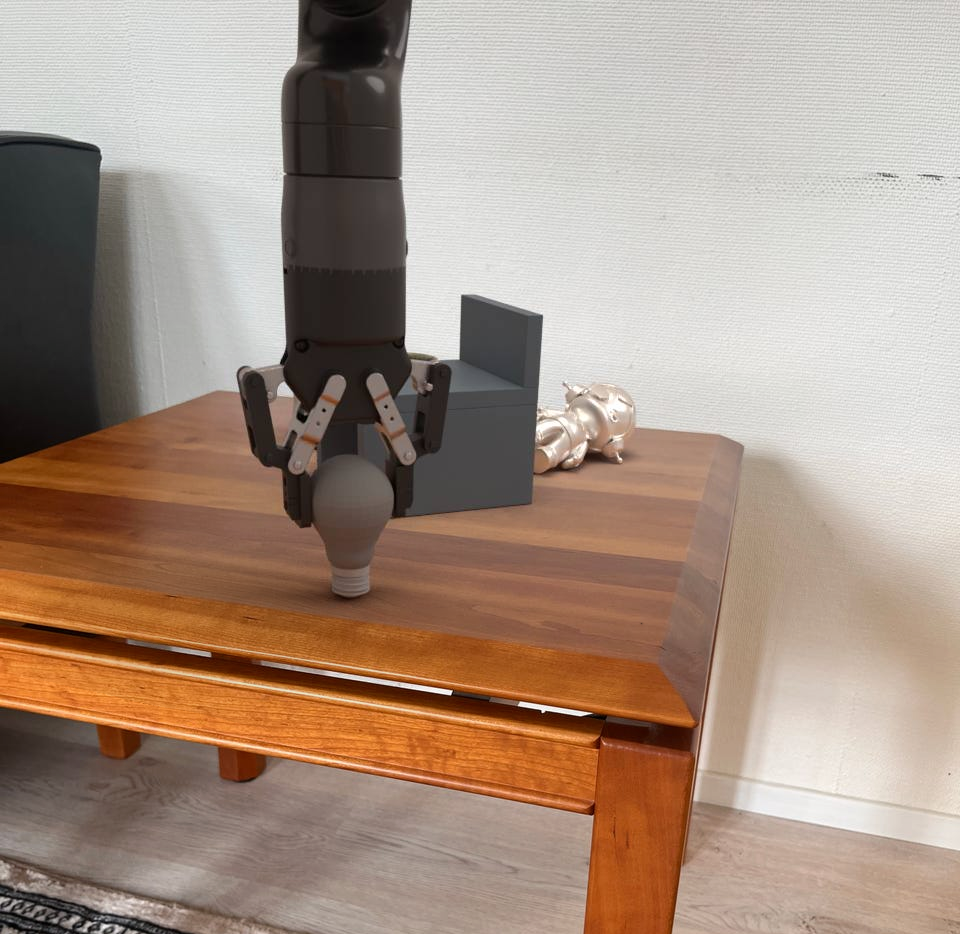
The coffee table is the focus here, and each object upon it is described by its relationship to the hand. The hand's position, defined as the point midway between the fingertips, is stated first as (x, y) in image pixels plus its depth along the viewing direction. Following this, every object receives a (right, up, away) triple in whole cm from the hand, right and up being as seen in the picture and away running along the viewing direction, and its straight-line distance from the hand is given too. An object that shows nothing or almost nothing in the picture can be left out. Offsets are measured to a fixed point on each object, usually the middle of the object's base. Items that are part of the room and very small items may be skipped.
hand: (349, 518), depth 69 cm
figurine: (+19, +10, +37) cm, 43 cm away
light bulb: (0, -5, +2) cm, 6 cm away
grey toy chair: (+3, +6, +26) cm, 27 cm away
